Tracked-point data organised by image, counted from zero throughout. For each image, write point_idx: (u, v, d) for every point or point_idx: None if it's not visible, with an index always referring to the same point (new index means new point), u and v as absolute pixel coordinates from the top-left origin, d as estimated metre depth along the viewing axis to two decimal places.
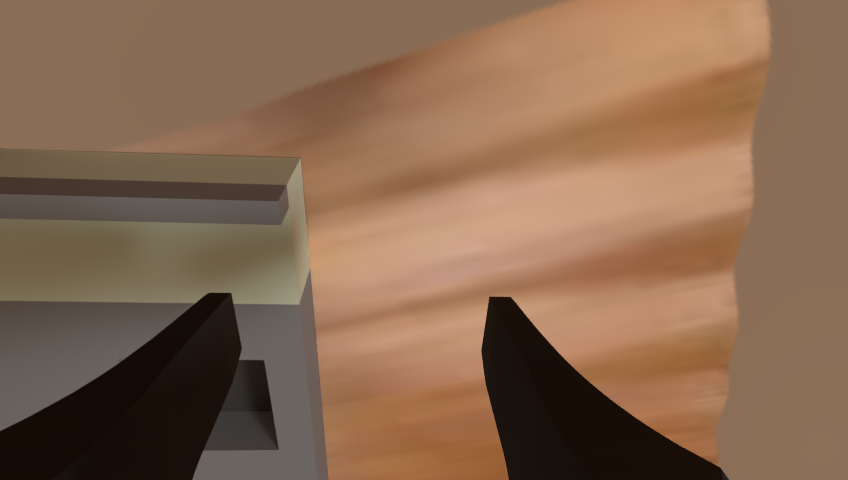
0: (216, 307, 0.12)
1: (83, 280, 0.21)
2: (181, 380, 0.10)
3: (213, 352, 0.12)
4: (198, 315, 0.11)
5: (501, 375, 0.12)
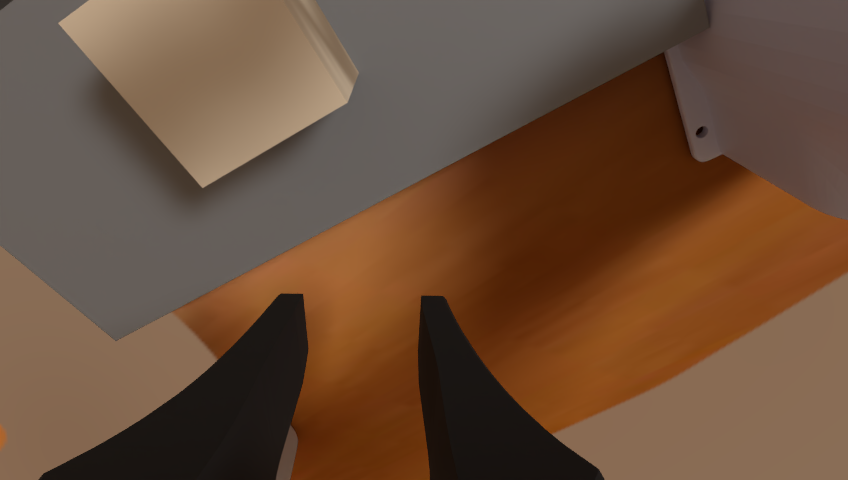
0: (294, 308, 0.12)
1: None
2: (271, 380, 0.10)
3: (291, 353, 0.12)
4: (279, 316, 0.11)
5: (426, 375, 0.12)
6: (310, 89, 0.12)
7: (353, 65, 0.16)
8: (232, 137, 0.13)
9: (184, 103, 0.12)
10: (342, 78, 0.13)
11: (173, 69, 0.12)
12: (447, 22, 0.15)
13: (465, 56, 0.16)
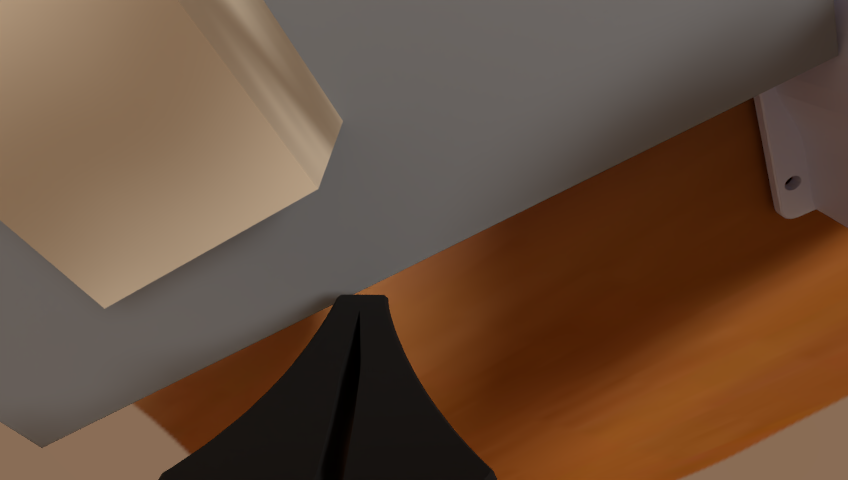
0: (358, 309, 0.12)
1: None
2: (345, 381, 0.10)
3: (356, 353, 0.12)
4: (345, 317, 0.12)
5: None
6: (259, 170, 0.08)
7: (334, 112, 0.11)
8: (142, 240, 0.08)
9: (60, 193, 0.08)
10: (312, 144, 0.09)
11: (35, 144, 0.07)
12: (468, 52, 0.11)
13: (492, 98, 0.11)
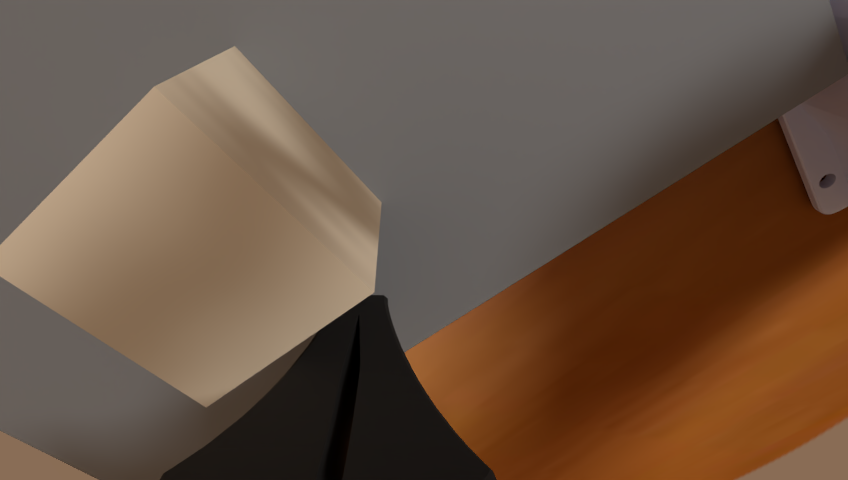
0: (358, 309, 0.12)
1: None
2: (346, 381, 0.10)
3: (357, 353, 0.12)
4: (346, 317, 0.12)
5: None
6: (322, 284, 0.09)
7: (373, 197, 0.12)
8: (231, 351, 0.10)
9: (162, 324, 0.09)
10: (362, 247, 0.10)
11: (139, 290, 0.09)
12: (487, 129, 0.12)
13: (516, 164, 0.12)
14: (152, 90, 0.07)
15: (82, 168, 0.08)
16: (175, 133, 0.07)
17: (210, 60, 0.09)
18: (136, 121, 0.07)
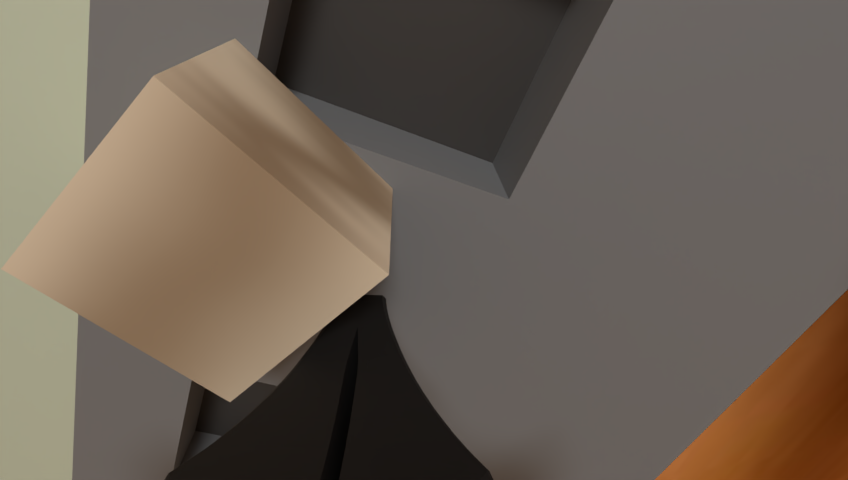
0: (361, 309, 0.12)
1: (30, 41, 0.10)
2: (349, 381, 0.10)
3: None
4: (349, 317, 0.12)
5: None
6: (336, 270, 0.09)
7: (384, 183, 0.12)
8: (250, 343, 0.10)
9: (180, 320, 0.09)
10: (375, 231, 0.10)
11: (156, 286, 0.09)
12: (747, 235, 0.14)
13: (781, 247, 0.14)
14: (151, 79, 0.07)
15: (90, 164, 0.08)
16: (177, 122, 0.07)
17: (210, 51, 0.09)
18: (138, 113, 0.07)
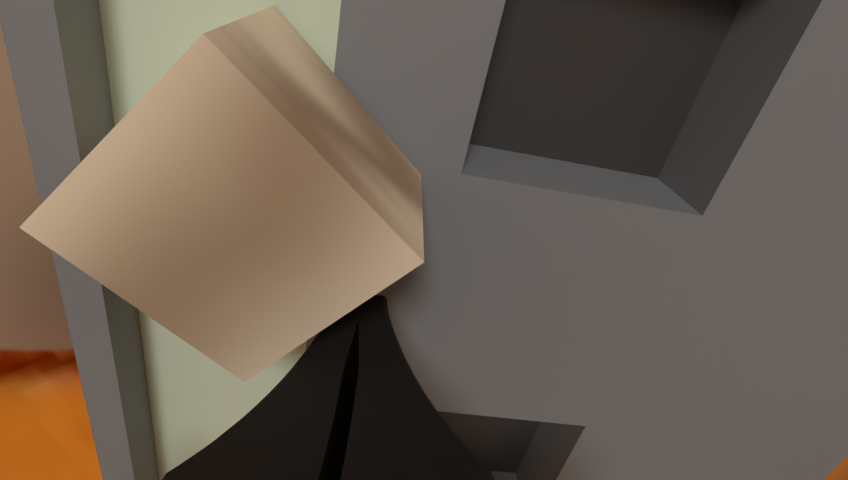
0: (360, 309, 0.12)
1: None
2: (347, 381, 0.10)
3: (358, 353, 0.12)
4: (347, 317, 0.12)
5: None
6: (370, 253, 0.09)
7: (413, 168, 0.12)
8: (272, 323, 0.09)
9: (202, 293, 0.09)
10: (409, 216, 0.09)
11: (180, 258, 0.09)
12: None
13: None
14: (201, 37, 0.07)
15: (125, 123, 0.07)
16: (222, 85, 0.07)
17: (253, 15, 0.09)
18: (183, 72, 0.07)
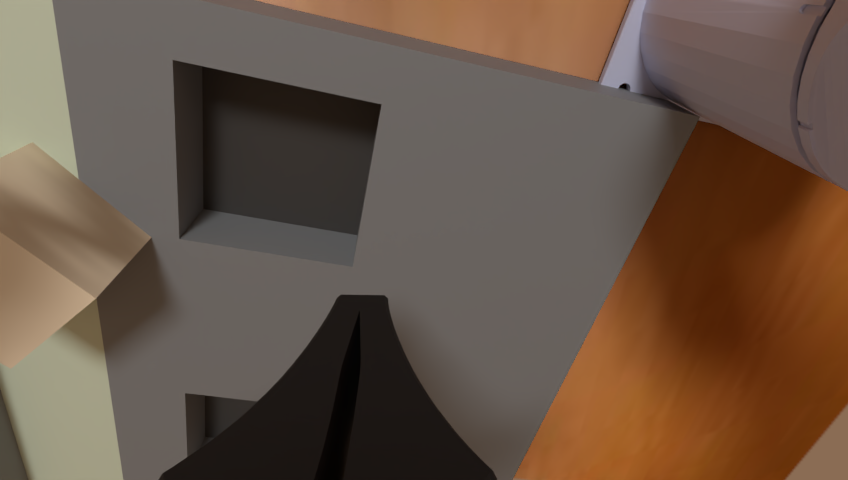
0: (358, 309, 0.12)
1: None
2: (345, 381, 0.10)
3: (356, 353, 0.12)
4: (345, 317, 0.12)
5: None
6: (62, 293, 0.15)
7: (142, 234, 0.19)
8: (17, 332, 0.16)
9: None
10: (102, 270, 0.16)
11: None
12: (520, 267, 0.20)
13: (547, 271, 0.21)
14: None
15: None
16: None
17: None
18: None
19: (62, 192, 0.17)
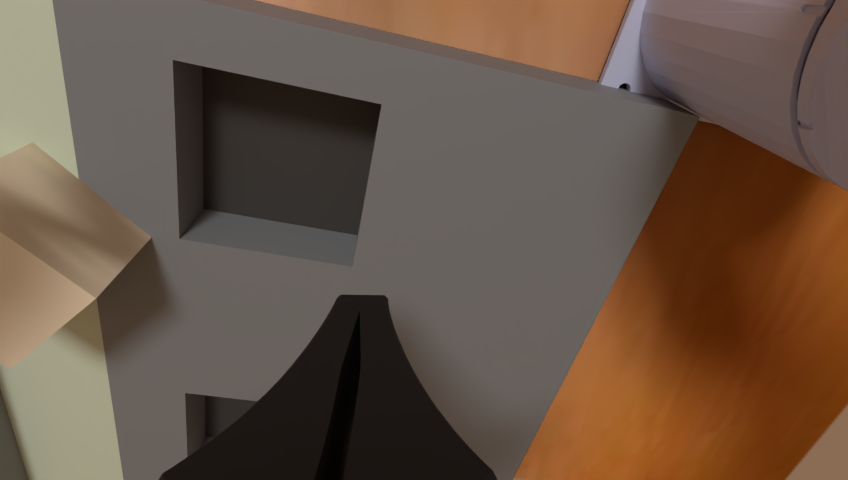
0: (358, 309, 0.12)
1: None
2: (345, 381, 0.10)
3: (356, 353, 0.12)
4: (345, 317, 0.12)
5: None
6: (62, 293, 0.15)
7: (142, 234, 0.19)
8: (18, 332, 0.16)
9: None
10: (102, 270, 0.16)
11: None
12: (520, 267, 0.20)
13: (547, 270, 0.21)
14: None
15: None
16: None
17: None
18: None
19: (62, 192, 0.17)
